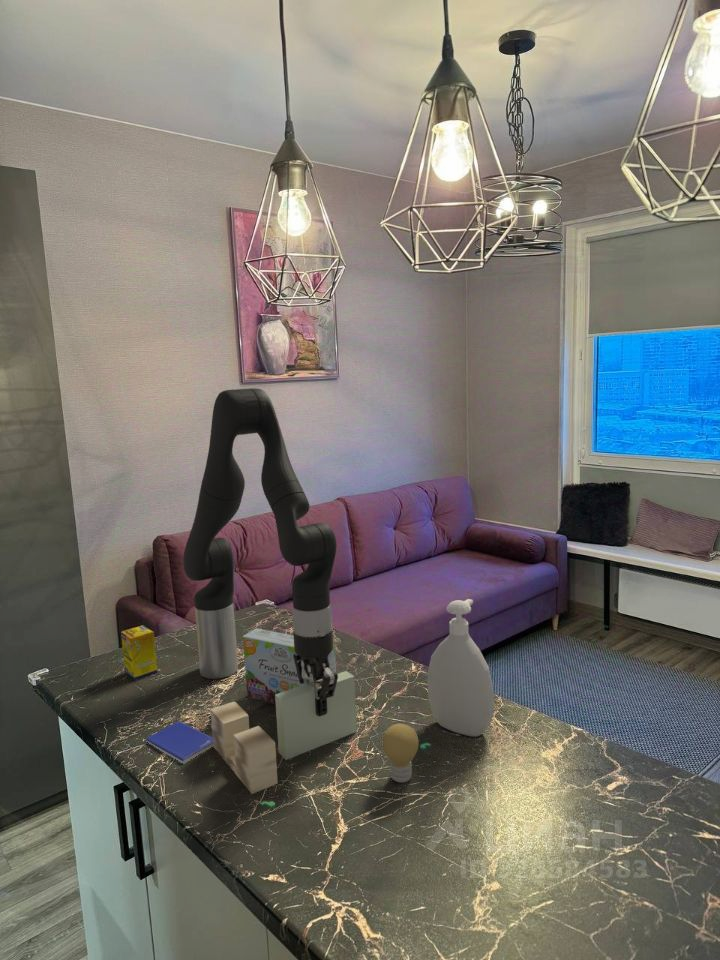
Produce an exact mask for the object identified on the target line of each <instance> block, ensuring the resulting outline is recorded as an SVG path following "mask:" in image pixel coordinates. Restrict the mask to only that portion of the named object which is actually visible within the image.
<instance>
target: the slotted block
mask: <svg viewBox="0 0 720 960" xmlns="http://www.w3.org/2000/svg"><path fill="white" fill-rule="evenodd" d="M210 718H211V719H210V720H211V721H210V722H211V731H212V732H211V734H212V738H213V746H214V747H213V748H214V749H215V751H216V750H217V751H218V752H219V753H218V752H217V751H216V752H217V753H218V754H219V755H220V757H221V756H222V757H223V758H222V757H221V758H222V759H223V761H224V762H225V761H226V762H225V764H226V765H227V766H230V767H229V768H230V769H231V770H232V771H234V772H233V773H234V774H235V775H236V777H237V778H238V779H239V780H240V782H241V783H242V784H243V785H244V787H245V788H246V790H248V791H249V792H250V794H251V795H253V794H256V793H258V792H261V791H262V790H265V789H268V788H271V787H272V786H275V785H277V784H278V767H277V752H276V751H277V750H276V742H275V740H274V739H273V738H272V737H271V736H270V735H269V734H268V733H267V732H266V731H265V730H263V728H262V727H260V725H257V726H254V727H251V728H250V718H249V715H248V713H247V712H246V711H245V710H244V709H243V708H242V707H241V705H239V704H238V703H237V702H236V701H232V702H227V703H225V704H222V705H220V706H215V707H213V708H210Z"/></svg>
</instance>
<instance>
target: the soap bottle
mask: <svg viewBox="0 0 720 960" xmlns="http://www.w3.org/2000/svg"><path fill="white" fill-rule="evenodd" d="M473 604H474V599H470V598H467V599H465V600H462V599H461V600H459V599H456V600H453V601H451V602H450V603H448V605H447V606H446V608H445V610H446V612H447V613H449V614H452V615H455V617H454V618H451V620H450V621H449V622H448V623H449V624H448V625H449V634H448V636H446V637H445V639H443V640H442V641H441V642H440V643H439V645H438V646H437V648H436V649H435V651H433V653H432V655H431V656H430V661H429V664H428V669H427V670H428V671H427V696H428V701H429V707H430V710H431V712H432V715H433V716H434V719H435V721H436V722H437V723H438V724H439V726H441V727H443V728H444V729H446V730H448V731H451V732H454V733H456V734H458V735H459V734H460V735H462V736H468V737H479V736H481V735H483V734H484V733H485V732H486V731H487V729H488V727H490V725H491V722H492V720H493V719H492V718H493V715H494V708H495V707H494V704H495V697H494V689H493V681H492V676H491V672H490V667H489V665H488V663H487V662H486V661H487V660H486V659H485V658H484V655H483V653H482V651H481V650H480V648H479V647H478V645H477V644H476V642H475V641H474V640H473V639H472V637H471V636H470V633H469V622H468V620H467V619H466V618H464V617H462V616H463V615H467V614H470V613H471V611H472V607H471V606H472V605H473Z"/></svg>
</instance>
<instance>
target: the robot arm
mask: <svg viewBox="0 0 720 960" xmlns="http://www.w3.org/2000/svg"><path fill="white" fill-rule="evenodd" d="M272 402H273V401H272V400H271V398H270V397H269V395H268V394H267V392H266V391H265V390H263V389H262V388H256V387H255V388H252V387H251V388H238V389H237V388H236V389H234V388H233V389H226V390H222V391H221V392H219V393H218V394H217V396H216V398H215V401H214V404H213V410H212V417H211V425H210V426H211V428H210V438H209V444H208V445H209V446H208V452H207V453H208V454H207V457H206V458H207V459H206V464H205V469H204V472H203V477H202V481H201V485H200V489H199V495H198V500H197V506H196V511H195V515H194V519H193V523H192V525H191V530H190V531H189V535H188V538H187V541H186V544H185V547H184V552H183V559H182V560H183V562H182V564H183V566H182V567H183V570H184V573H185V575H186V577H187V578H188V579H189V580H191V581H194V582H199V581H204V580H209V582H208V583H207V584H206V585H205V586H203V587H202V588H201V589H200V590H198V591H197V592H196V593H195V594H194V597H193V605H194V616H195V627H196V637H197V638H196V639H197V640H196V641H197V653H198V663H199V664H198V665H199V673H200V676H202V677H203V678H205V679H213V680H216V679H223V678H226V677H229V676H232V675H233V674H235V673H236V672H238V669H239V665H238V664H239V663H238V648H237V637H236V635H237V634H236V621H235V620H236V619H235V610H234V609H235V608H234V594H235V593H234V592H235V583H234V582H235V579H234V573H235V572H234V567H235V565H234V564H235V563H234V555H233V549H232V546H231V544H230V542H229V541H228V540H227V539H226V538H225V537H216V536H217V535H219V533H220V532H221V531H222V530H223V528H224V527H226V526H227V524H228V523H229V522H230V521H231V520H233V518H234V516H235V515H236V514H237V512H238V511H239V508H240V506H241V503H242V498H243V496H244V492H245V485H246V481H245V477H244V474H243V472H242V469H241V468H240V466H239V464H238V462H237V461H236V459H235V457H234V454H233V447H234V443H235V439H236V437H237V436H242V435H252V434H258V436H259V438H260V439H261V441H262V443H263V448H264V455H263V463H262V469H261V473H260V475H261V476H260V478H261V479H260V481H261V487H262V492H263V493H264V495H265V499H266V501H267V502H268V505H269V506H270V509H271V512H272V513H273V515H274V520H275V525H276V531H277V539H278V545H279V551H280V554H281V557H283V559H284V561H286V562H287V563H288V564H289V565H291V566H294V567H300V566H304V565H307V567H306V569H305V570H304V571H302V572H301V573H299V574H297V575H296V576H295V577H294V578H293V580H292V582H291V583H292V584H291V586H292V587H291V591H292V606H293V607H292V633H293V636H294V650H295V653H296V654H294V655H293V657H294V661H295V665H296V670H297V674H298V678H299V682H300V684H304V685H306V684H309V683H311V686H312V687H314V692H315V706H316V715H317V716H319V717H320V716H323V715H325V714H327V698H329V697H333V696H334V692H335V688H336V684H337V679H338V675H337V674H338V673H337V671H336V672H335V673H332V672H331V671H330V669H329V667H330V665H329V661H328V655H329V654H330V652H331V651H332V650H333V644H334V631H333V630H334V629H333V628H334V627H333V615H332V608H331V597H330V596H331V595H330V593H331V592H330V581H331V577H332V572H333V568H334V564H335V559H336V556H337V555H336V554H337V538H336V535H335V532H334V530H333V529H332V528H331V527H330V525H328V524H327V523H324V522H315V523H311V524H308V525H302V526H299V525H298V523H297V521H298V520H300V519H302V518H304V516H306V515H307V514H308V512H309V510H310V502H309V499H308V497H307V495H306V493H305V491H304V489H303V487H302V485H301V483H300V481H299V479H298V477H297V475H296V473H295V470H294V468H293V465H292V463H291V461H290V457H289V455H288V451H287V447H286V444H285V440H284V436H283V432H282V430H281V426H280V423H279V419H278V416H277V413H276V410H275V408H274V405H273V403H272ZM321 679H322V680H321ZM317 680H320V681H317ZM316 681H317V682H316ZM319 687H321V691H320V692H319Z"/></svg>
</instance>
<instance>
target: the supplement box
mask: <svg viewBox="0 0 720 960" xmlns="http://www.w3.org/2000/svg"><path fill="white" fill-rule="evenodd" d="M120 633H121V634H120V635H121V644H122V653H123V663H124V664H123V665H124V673H125V674H127V675H128V676H129V677H131V679H133V680H134V681H138V680H141V679H143V678H146V677H149V676H152V675H155V674H157V673H158V666H157V665H158V664H157V655H156V643H155V634H154V633H155V632H154V631H152V630H151V629H149V628H148V627H147V626H145V625H143V624H142V625H140V626H137V627H132V628H129V629H126V630H122V631H121V632H120Z"/></svg>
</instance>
